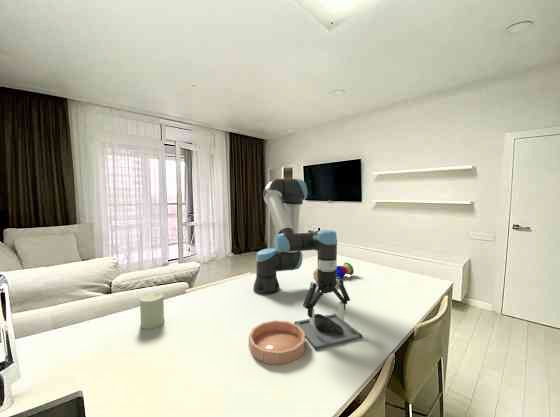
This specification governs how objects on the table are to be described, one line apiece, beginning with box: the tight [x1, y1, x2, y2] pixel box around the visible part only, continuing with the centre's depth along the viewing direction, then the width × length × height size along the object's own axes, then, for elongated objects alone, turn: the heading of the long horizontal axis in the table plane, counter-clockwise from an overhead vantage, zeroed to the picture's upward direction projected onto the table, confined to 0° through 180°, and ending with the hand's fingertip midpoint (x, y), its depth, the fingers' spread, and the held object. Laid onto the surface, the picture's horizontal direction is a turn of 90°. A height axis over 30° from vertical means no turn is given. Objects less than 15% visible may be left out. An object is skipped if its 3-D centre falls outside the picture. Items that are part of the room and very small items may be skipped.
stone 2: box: [314, 313, 344, 334], centre depth 98 cm, size 7×13×5 cm, turn 56°
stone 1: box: [312, 267, 318, 283], centre depth 151 cm, size 13×10×10 cm
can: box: [139, 292, 165, 330], centre depth 105 cm, size 9×9×12 cm
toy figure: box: [336, 262, 354, 279], centre depth 164 cm, size 9×10×15 cm
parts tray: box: [293, 313, 363, 351], centre depth 98 cm, size 18×20×1 cm
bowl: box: [248, 319, 306, 366], centre depth 89 cm, size 20×20×4 cm
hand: (327, 321), depth 98 cm, fingers open, 13 cm apart
